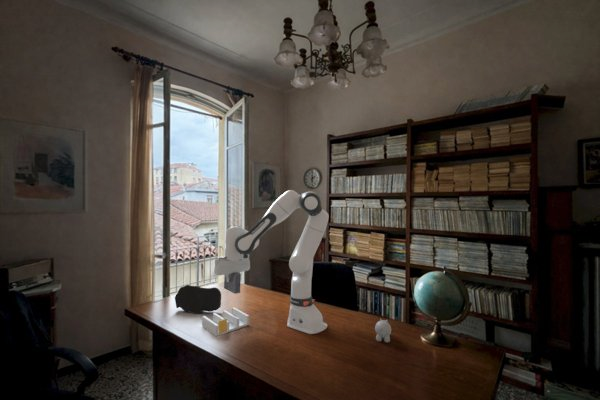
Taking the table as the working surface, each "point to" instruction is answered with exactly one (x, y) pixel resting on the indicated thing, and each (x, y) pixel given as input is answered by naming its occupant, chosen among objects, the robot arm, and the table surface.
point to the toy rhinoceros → (383, 330)
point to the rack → (225, 322)
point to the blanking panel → (233, 283)
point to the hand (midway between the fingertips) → (232, 281)
